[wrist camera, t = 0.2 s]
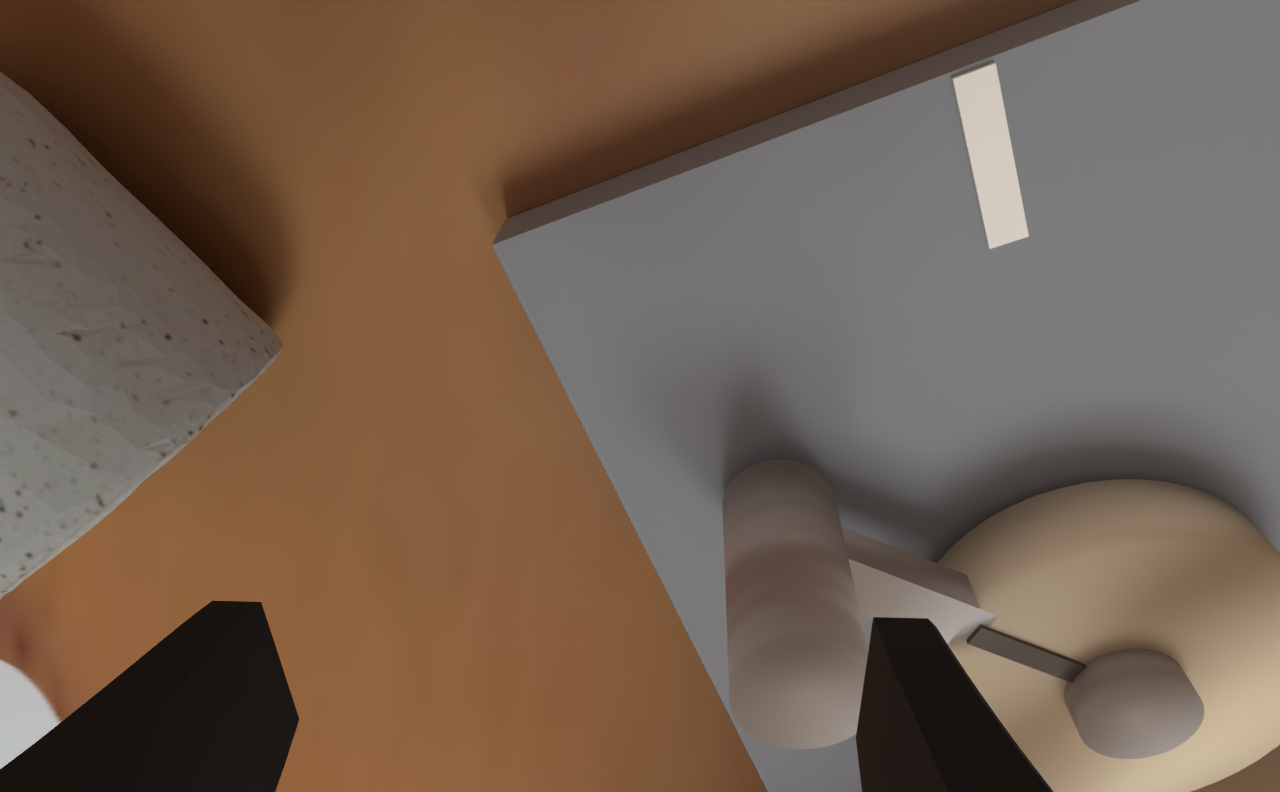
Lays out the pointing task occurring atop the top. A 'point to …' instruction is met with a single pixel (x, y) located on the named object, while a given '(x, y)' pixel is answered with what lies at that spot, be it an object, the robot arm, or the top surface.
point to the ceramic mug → (97, 340)
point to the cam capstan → (1021, 624)
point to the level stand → (938, 300)
